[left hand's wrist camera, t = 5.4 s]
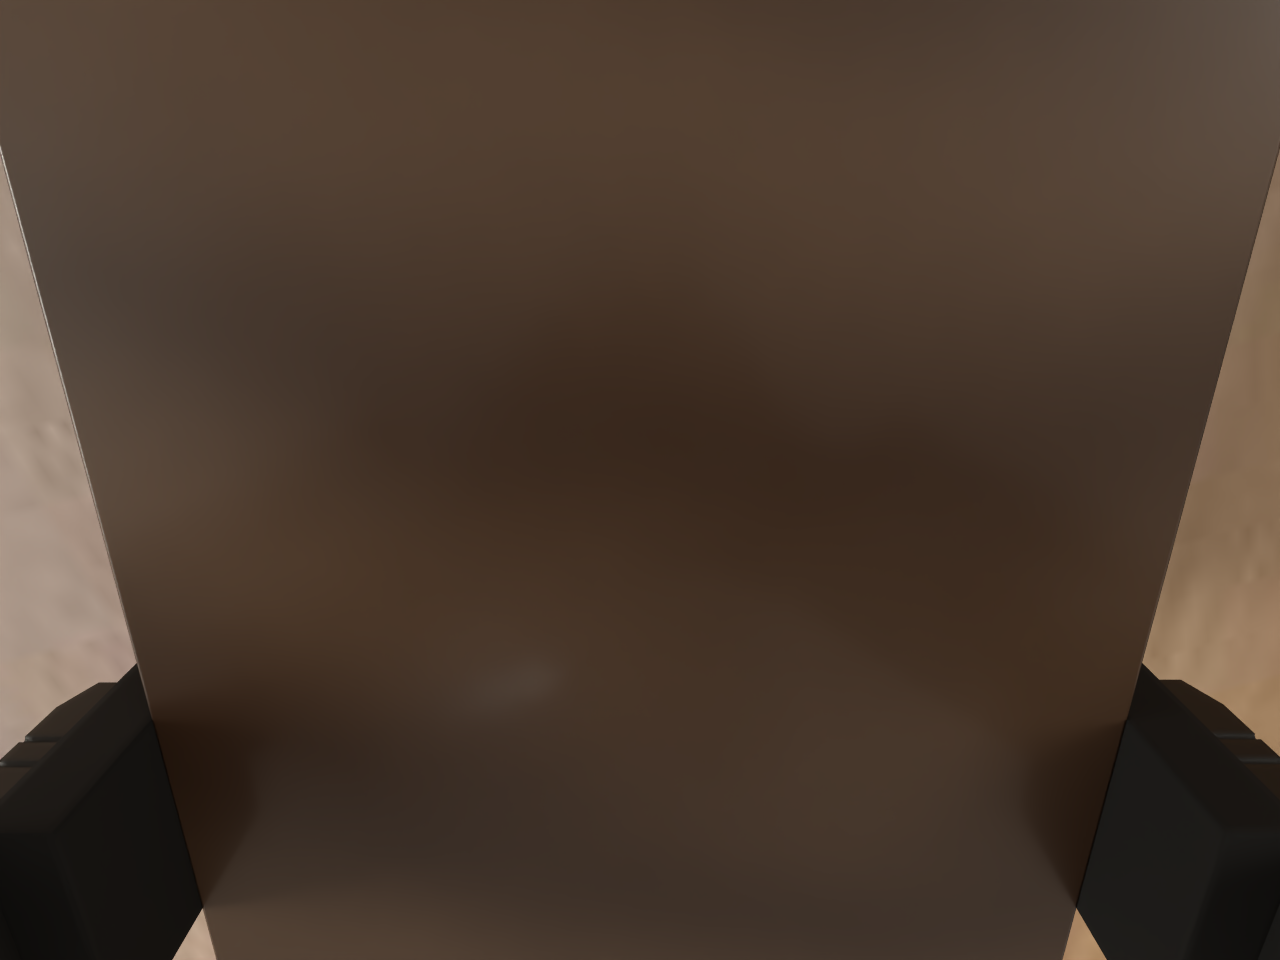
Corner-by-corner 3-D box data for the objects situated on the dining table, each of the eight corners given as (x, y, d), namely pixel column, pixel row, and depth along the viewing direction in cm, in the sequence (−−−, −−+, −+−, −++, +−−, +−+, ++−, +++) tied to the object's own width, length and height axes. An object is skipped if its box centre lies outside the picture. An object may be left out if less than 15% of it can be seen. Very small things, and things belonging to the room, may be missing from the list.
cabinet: (319, -318, 13) (-439, -1464, 4) (958, -317, 13) (1716, -1464, 4) (426, 633, 19) (237, 1048, 10) (852, 634, 19) (1040, 1048, 10)
